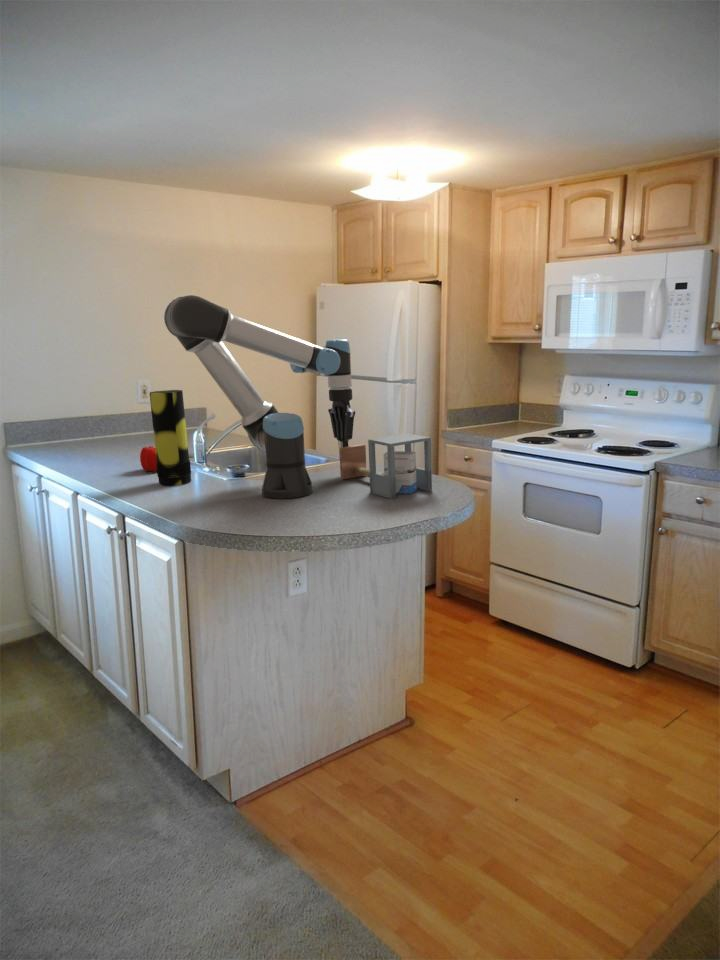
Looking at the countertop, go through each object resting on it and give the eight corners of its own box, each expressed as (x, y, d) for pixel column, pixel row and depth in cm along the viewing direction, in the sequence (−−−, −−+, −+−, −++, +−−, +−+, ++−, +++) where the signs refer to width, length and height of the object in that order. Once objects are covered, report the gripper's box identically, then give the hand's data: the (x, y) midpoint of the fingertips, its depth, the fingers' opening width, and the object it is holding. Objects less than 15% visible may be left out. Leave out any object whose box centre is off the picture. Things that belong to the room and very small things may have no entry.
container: (195, 478, 237) (186, 389, 231) (188, 485, 227) (179, 392, 220) (163, 479, 237) (153, 390, 231) (154, 487, 227) (144, 394, 220)
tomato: (171, 466, 261) (168, 442, 259) (173, 472, 249) (170, 447, 247) (141, 469, 257) (138, 444, 255) (142, 475, 246) (139, 449, 244)
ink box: (417, 490, 208) (416, 451, 205) (411, 494, 203) (410, 454, 201) (390, 488, 211) (389, 450, 209) (384, 492, 207) (383, 453, 204)
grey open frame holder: (370, 492, 208) (368, 439, 205) (408, 484, 216) (407, 433, 212) (392, 498, 199) (390, 443, 196) (431, 490, 207) (430, 437, 203)
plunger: (340, 478, 226) (339, 447, 224) (363, 474, 231) (362, 444, 229) (375, 489, 210) (374, 456, 208) (399, 484, 215) (398, 452, 213)
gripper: (361, 388, 223) (364, 461, 228) (339, 386, 234) (343, 455, 239) (341, 390, 219) (345, 464, 224) (319, 388, 230) (324, 459, 235)
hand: (344, 460), depth 232 cm, fingers closed
